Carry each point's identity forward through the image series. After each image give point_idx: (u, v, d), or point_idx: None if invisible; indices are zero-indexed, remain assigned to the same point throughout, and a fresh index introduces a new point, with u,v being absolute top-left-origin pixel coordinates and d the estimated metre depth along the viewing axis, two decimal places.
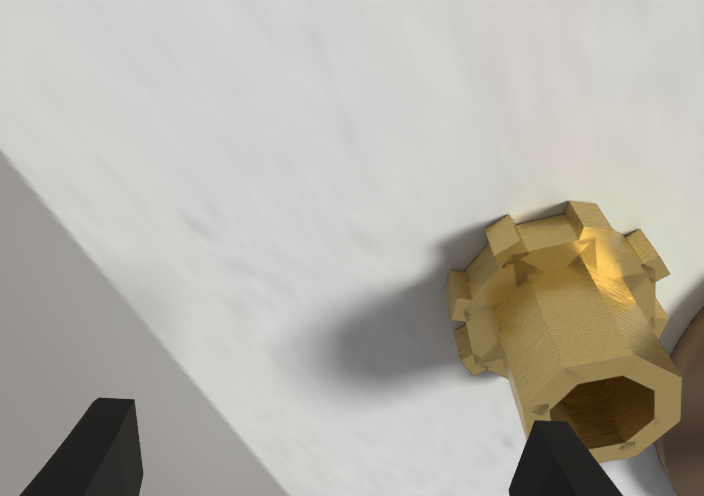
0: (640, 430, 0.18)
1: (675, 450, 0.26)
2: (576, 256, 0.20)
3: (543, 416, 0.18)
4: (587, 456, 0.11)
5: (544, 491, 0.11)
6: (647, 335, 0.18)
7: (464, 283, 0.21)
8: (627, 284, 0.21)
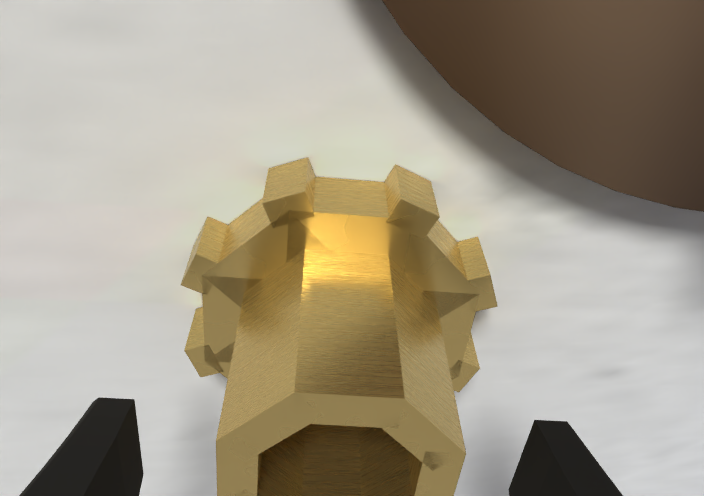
0: (402, 444, 0.11)
1: None
2: (229, 298, 0.14)
3: None
4: (587, 456, 0.11)
5: (544, 491, 0.11)
6: (278, 346, 0.12)
7: None
8: (304, 247, 0.14)
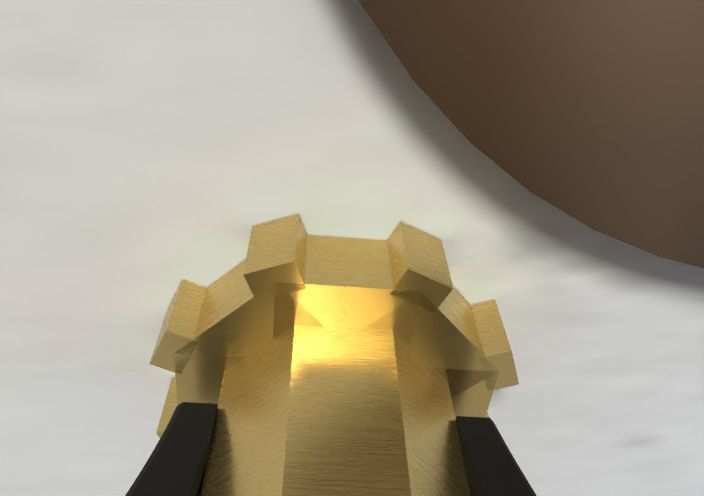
0: None
1: None
2: (207, 378, 0.12)
3: None
4: (503, 452, 0.11)
5: None
6: (261, 457, 0.10)
7: None
8: (293, 322, 0.12)
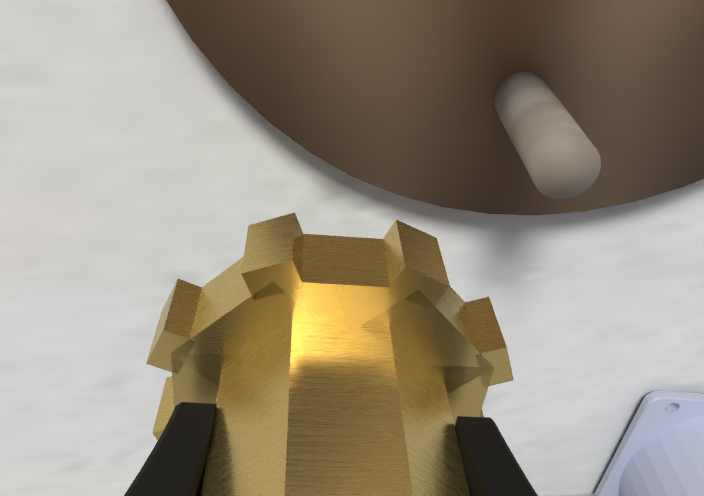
0: None
1: (504, 202, 0.19)
2: (204, 377, 0.12)
3: None
4: (504, 453, 0.11)
5: None
6: (262, 456, 0.10)
7: None
8: (291, 321, 0.12)
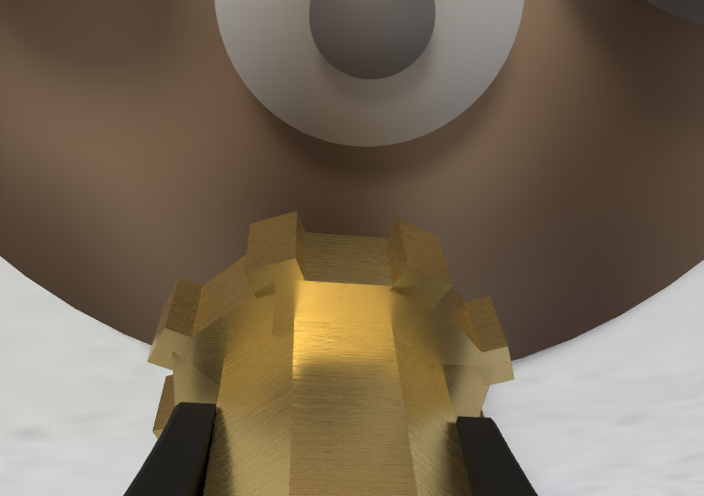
0: None
1: None
2: (205, 376, 0.12)
3: None
4: (504, 452, 0.11)
5: None
6: (265, 454, 0.10)
7: None
8: (293, 319, 0.12)
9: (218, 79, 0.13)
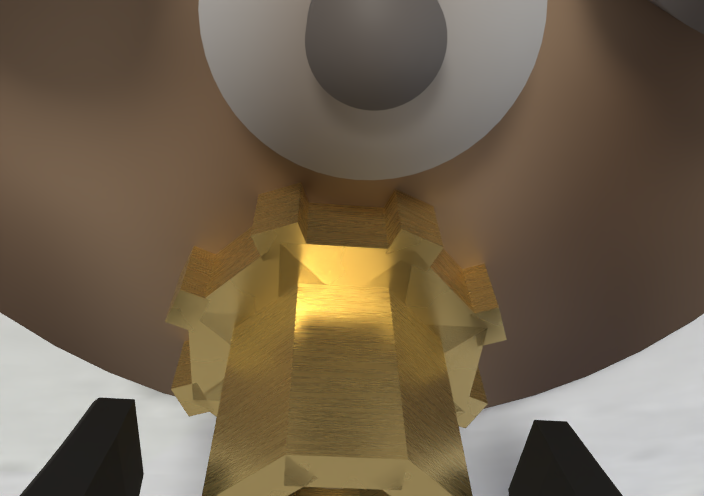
0: None
1: None
2: (217, 335, 0.13)
3: None
4: (587, 456, 0.11)
5: (544, 491, 0.11)
6: (268, 396, 0.11)
7: None
8: (297, 281, 0.13)
9: (206, 104, 0.12)
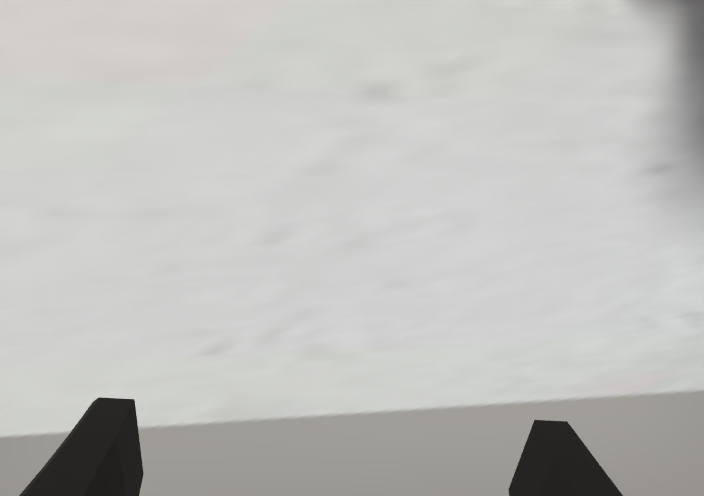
0: None
1: None
2: None
3: None
4: (587, 456, 0.11)
5: (544, 491, 0.11)
6: None
7: None
8: None
9: None
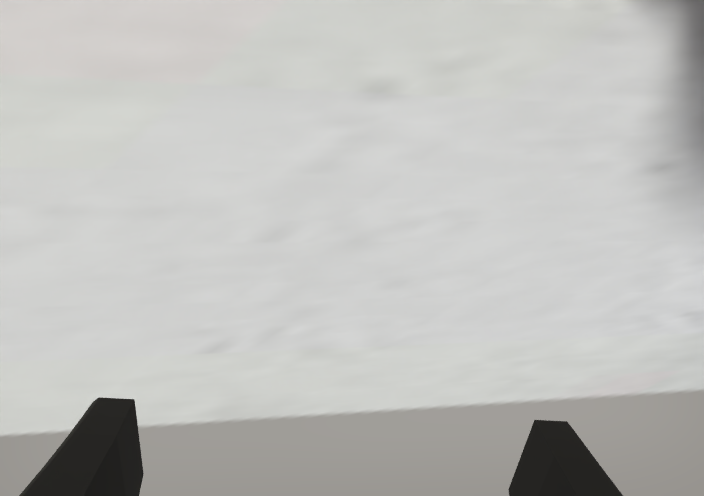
0: None
1: None
2: None
3: None
4: (587, 456, 0.11)
5: (544, 491, 0.11)
6: None
7: None
8: None
9: None
